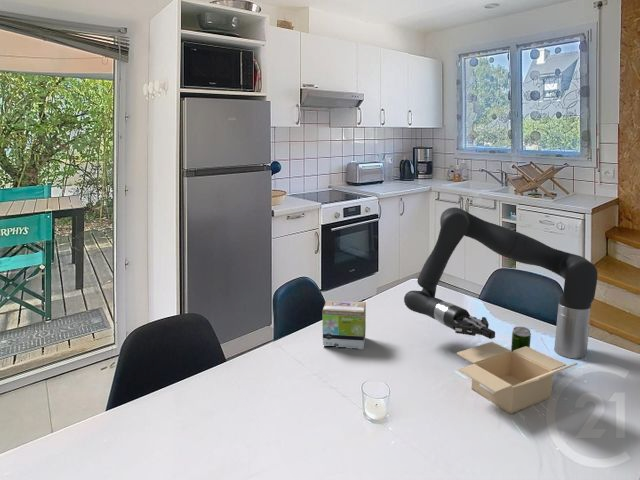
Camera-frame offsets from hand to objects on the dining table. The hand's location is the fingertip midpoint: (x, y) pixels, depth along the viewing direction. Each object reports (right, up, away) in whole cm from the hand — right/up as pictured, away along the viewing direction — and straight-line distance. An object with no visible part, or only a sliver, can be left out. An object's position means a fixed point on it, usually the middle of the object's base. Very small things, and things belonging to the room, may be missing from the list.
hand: (493, 335), depth 128 cm
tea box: (-42, -10, +32) cm, 54 cm away
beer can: (+14, -12, +13) cm, 22 cm away
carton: (+2, -15, 0) cm, 15 cm away
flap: (+7, -9, -11) cm, 16 cm away
